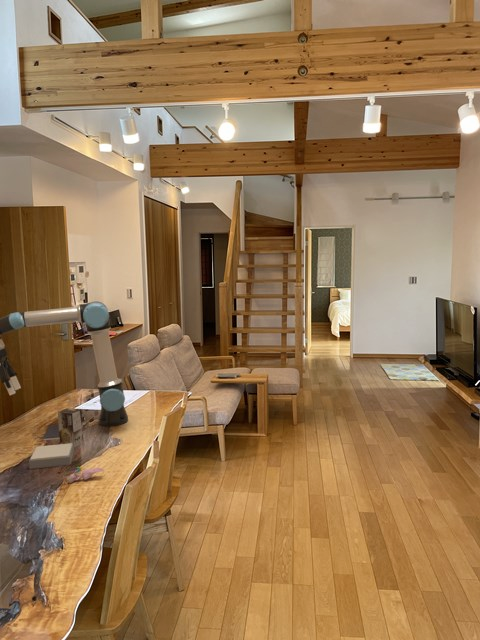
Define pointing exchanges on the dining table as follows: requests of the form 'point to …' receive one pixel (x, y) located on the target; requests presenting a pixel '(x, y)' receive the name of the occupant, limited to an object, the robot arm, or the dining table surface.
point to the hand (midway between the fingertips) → (15, 391)
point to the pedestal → (51, 456)
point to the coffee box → (70, 426)
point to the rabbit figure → (85, 474)
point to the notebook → (51, 433)
